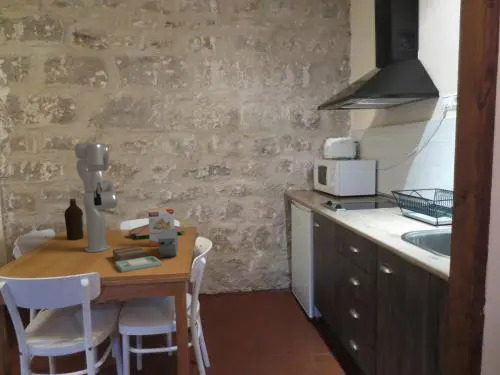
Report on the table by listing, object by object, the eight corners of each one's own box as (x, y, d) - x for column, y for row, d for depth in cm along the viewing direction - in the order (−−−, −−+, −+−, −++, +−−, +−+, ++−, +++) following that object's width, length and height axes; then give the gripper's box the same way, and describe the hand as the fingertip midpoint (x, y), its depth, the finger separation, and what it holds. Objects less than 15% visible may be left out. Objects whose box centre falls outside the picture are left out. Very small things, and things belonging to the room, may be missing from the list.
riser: (113, 257, 201) (112, 249, 200) (138, 253, 207) (138, 245, 207) (120, 264, 187) (120, 256, 187) (147, 260, 194) (147, 252, 194)
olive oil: (67, 241, 239) (65, 200, 237) (64, 238, 248) (61, 198, 246) (86, 238, 245) (83, 198, 243) (82, 235, 254) (80, 197, 252)
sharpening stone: (175, 260, 193) (174, 238, 192) (159, 260, 192) (158, 239, 191) (178, 247, 218) (177, 228, 217) (163, 248, 217) (163, 228, 216)
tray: (115, 265, 185) (115, 261, 185) (153, 259, 195) (152, 255, 195) (122, 272, 175) (121, 268, 175) (161, 265, 185) (161, 261, 184)
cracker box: (149, 247, 220) (147, 210, 218) (150, 244, 226) (148, 208, 224) (175, 245, 223) (173, 208, 221) (175, 243, 229) (173, 207, 227)
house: (127, 234, 257) (126, 222, 257) (177, 229, 270) (177, 217, 270) (131, 241, 236) (131, 228, 236) (185, 235, 249) (185, 223, 249)
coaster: (131, 264, 178) (131, 269, 178) (148, 261, 182) (148, 266, 182) (126, 260, 185) (126, 265, 185) (143, 258, 189) (143, 262, 189)
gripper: (85, 168, 200) (87, 204, 201) (90, 169, 187) (92, 207, 189) (100, 167, 203) (102, 203, 205) (106, 168, 191) (109, 206, 193)
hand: (97, 205), depth 197 cm, fingers closed
